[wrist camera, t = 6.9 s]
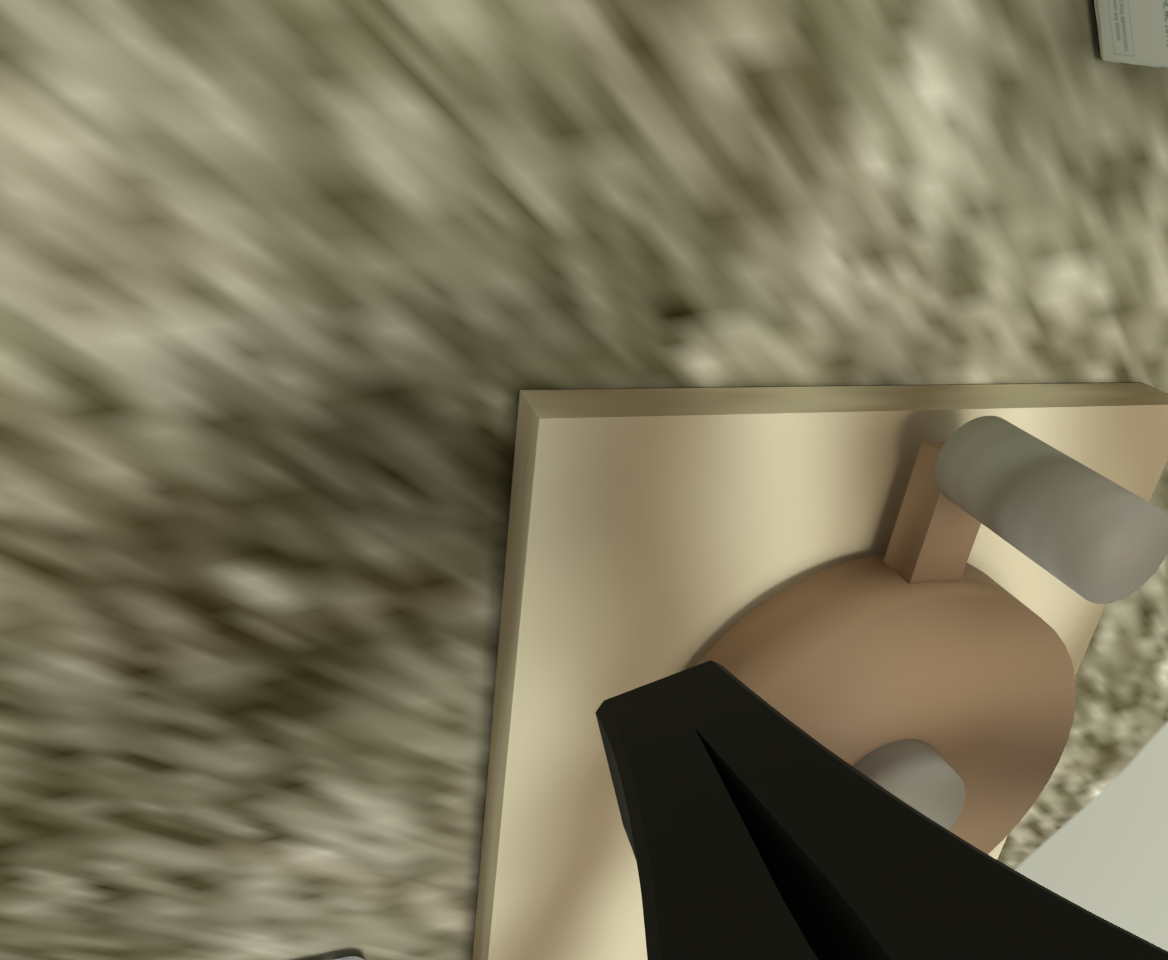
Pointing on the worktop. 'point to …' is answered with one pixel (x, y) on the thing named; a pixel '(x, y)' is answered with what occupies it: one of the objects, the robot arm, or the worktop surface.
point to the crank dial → (952, 629)
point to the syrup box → (1133, 31)
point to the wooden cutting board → (707, 587)
